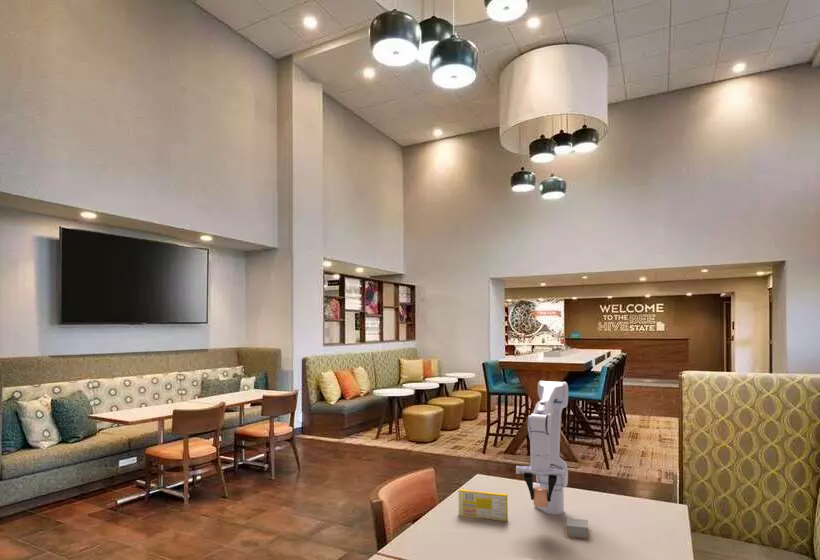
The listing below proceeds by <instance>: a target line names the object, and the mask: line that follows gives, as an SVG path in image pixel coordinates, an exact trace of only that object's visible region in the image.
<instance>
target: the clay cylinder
mask: <svg viewBox="0 0 820 560" xmlns="http://www.w3.org/2000/svg"><path fill="white" fill-rule="evenodd" d="M532 503H533V505H534V507H535V506H537V507H547V506H548V489H547V488H544V487H536V486H535V487H533V500H532Z"/></svg>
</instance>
